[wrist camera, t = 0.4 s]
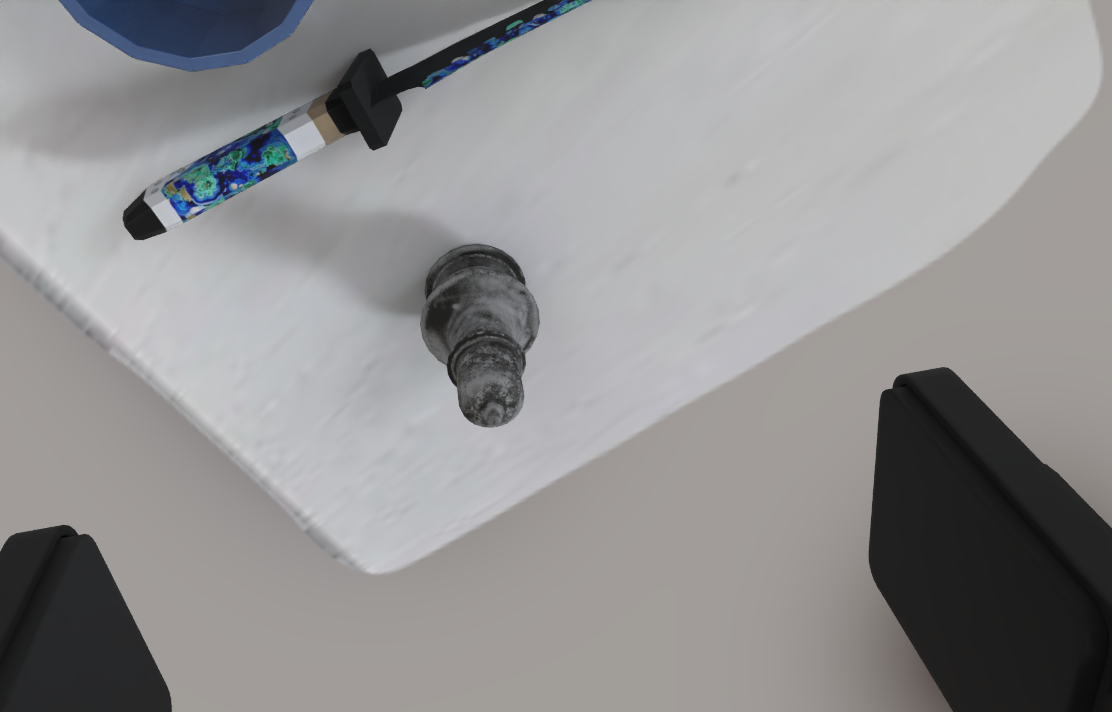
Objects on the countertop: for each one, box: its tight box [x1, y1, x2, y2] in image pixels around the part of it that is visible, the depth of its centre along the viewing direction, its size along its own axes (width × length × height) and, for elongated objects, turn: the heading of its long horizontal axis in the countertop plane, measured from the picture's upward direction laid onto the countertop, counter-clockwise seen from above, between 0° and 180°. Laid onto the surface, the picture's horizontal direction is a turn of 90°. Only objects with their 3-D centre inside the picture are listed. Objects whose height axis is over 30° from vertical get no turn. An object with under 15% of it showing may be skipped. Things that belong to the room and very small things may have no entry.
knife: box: [123, 0, 591, 240], centre depth 41 cm, size 31×3×4 cm, turn 109°
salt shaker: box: [420, 244, 540, 427], centre depth 44 cm, size 6×6×12 cm
